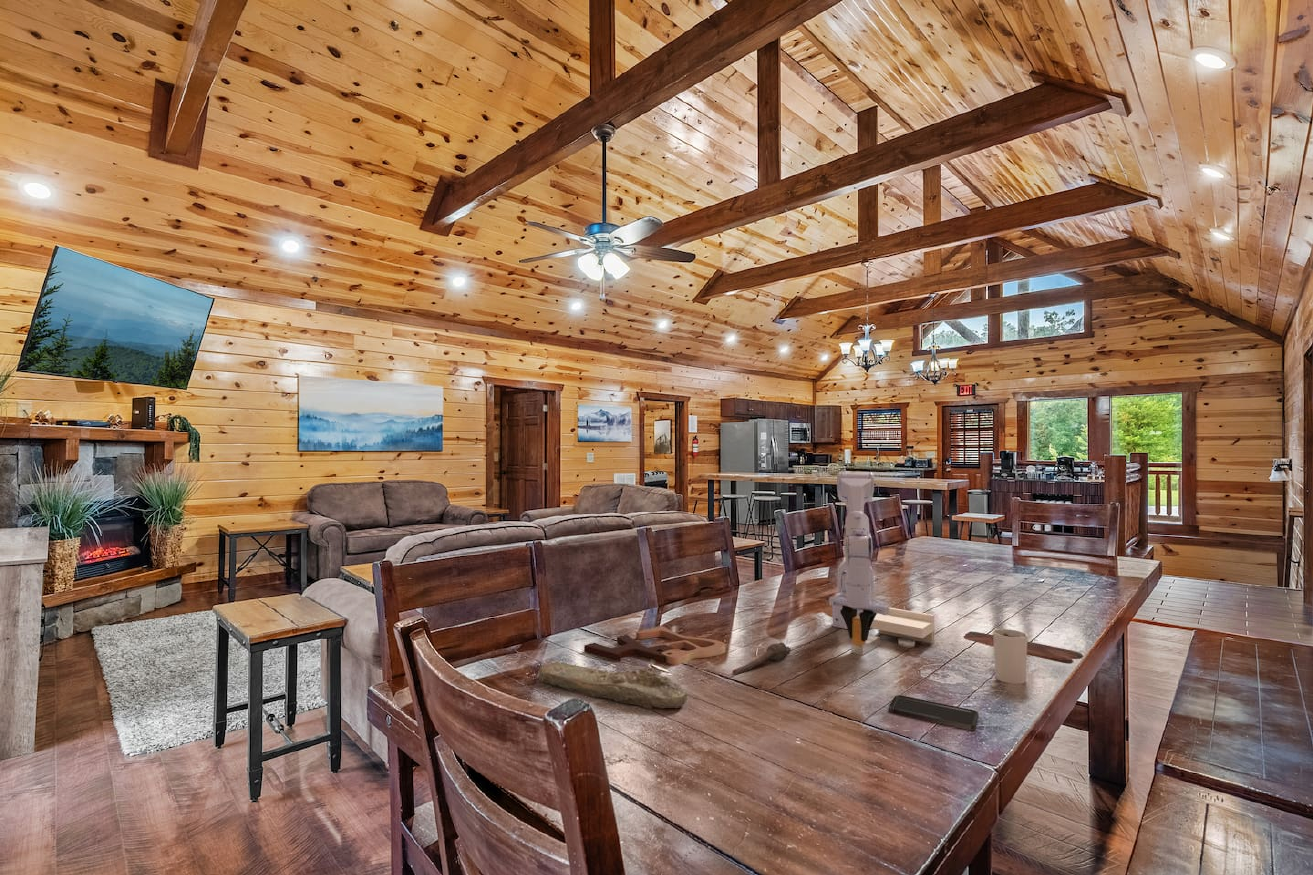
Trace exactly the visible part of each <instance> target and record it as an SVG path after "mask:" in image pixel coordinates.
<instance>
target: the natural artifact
mask: <svg viewBox="0 0 1313 875" xmlns="http://www.w3.org/2000/svg"><path fill="white" fill-rule="evenodd" d="M791 650H792V648H791V647H789V646H787V645H786V644H785V643H784V642H783V641H781V642H779V643H772V644H771V645H769V646H767V648H766V649H765V652H763V653H762V655H760V656H758V658H756V659H754V660H752V661H750V662H749V663H748V664H745V665H743V666H740V667H738V668H735V669H733V670H732V673H731V674H732V675H738V674H742V673H744V672H747V671H750V670H752V668H754V667H756V666H758V665H759V664H760V663H762V662H764V661H766V660H767V659H769V660H772V661H781V660H782V659H786V658H787V655H789V654H790V652H791Z"/></svg>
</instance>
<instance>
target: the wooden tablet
mask: <svg viewBox="0 0 1313 875" xmlns="http://www.w3.org/2000/svg"><path fill="white" fill-rule="evenodd" d="M963 639H964V640H968V641H970V642H974V643H978V644H982V645H983V644H984V645H987V646H991V647H994V638H993V634H990V633H984V632H979V631H969V632H966V633H965V634H964V635H963ZM1027 655H1032V656H1035V657H1039V658H1043V659H1047V660H1052V661H1055V662H1061V663H1066V664H1072V663H1074V660H1078V659H1079V660H1080V659H1081V658H1083V656H1084V655H1083V654H1082V652H1079V651H1076V650H1071V649H1065V648H1061V647H1056V646H1052V645H1047V644H1042V643H1037V642H1032V641H1028V640H1027Z"/></svg>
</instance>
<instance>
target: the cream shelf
mask: <svg viewBox="0 0 1313 875" xmlns="http://www.w3.org/2000/svg"><path fill="white" fill-rule="evenodd" d="M870 629H872V630H873V629H875V630H878V632H877V633H878V634H881V635H882V634H883V635H886V636H892V637H896V638H897V637H898V638H909V639H913V640H915V642H916V641H917V642H920V643H921V642H922V643H925V644H931V645H932V644H933V643H935V615H934V614H929V613H924V612H918V611H912V610H907V609H901V608H897V607H890V606H889V614H888V615H882V614H879V613H877V614H876V616H875V618H874V620H873V622H872V624H871V627H870Z"/></svg>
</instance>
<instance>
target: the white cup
mask: <svg viewBox="0 0 1313 875" xmlns="http://www.w3.org/2000/svg"><path fill="white" fill-rule="evenodd" d="M992 635H993V638H994V646H993V653H994V671H995V672H994V673H995V679H996V680H999V681H1001V682H1004V683H1008V684H1013V685H1022V684H1024V683H1026V678H1027V657H1028V656H1027V655H1028V654H1027V641H1028V637H1029V636H1028V634H1027V633H1026V632H1023V631H1020V630H1016V629H1009V628H996V629H993V631H992Z"/></svg>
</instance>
